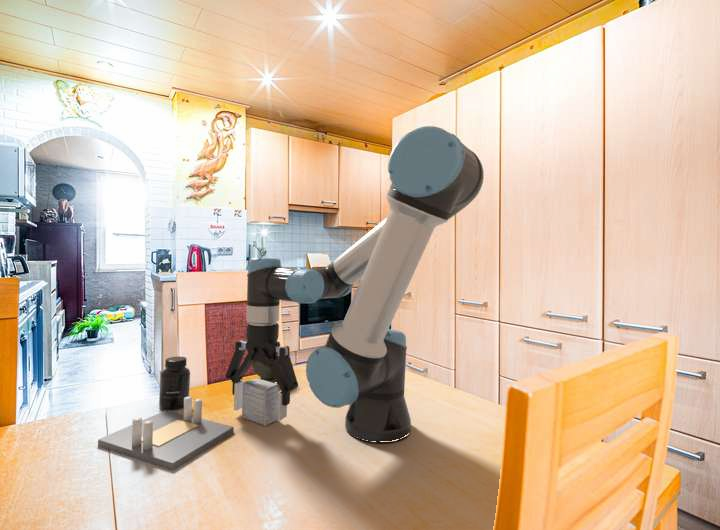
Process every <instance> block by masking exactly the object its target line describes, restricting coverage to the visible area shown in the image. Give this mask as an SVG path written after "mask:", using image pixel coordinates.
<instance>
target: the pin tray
mask: <svg viewBox="0 0 720 530" xmlns="http://www.w3.org/2000/svg"><path fill="white" fill-rule="evenodd" d="M192 401H194V402H192ZM192 404H193V408H192ZM192 409H193V415H192ZM202 411H203V398H197V399H194V400H193V397H192V396H189V397H185V398H184V407H183V413H180V412H176V411H173V410H164V411H161V412H159V413H156V414H154V415H152V416H150V417H148V418H145V419H143V418H142V417H135V418H133V419H132V420H131V421H132V423H131V425H129V426H126V427H124V428H122V429H121V428H120V429H119V430H117V431H115V432H112V433H110V434H108V435H106V436H103V437H101V438H99V439H98V440H97V446H98V447H101V448H104V449H106V450H107V449H108V450H110V451H113V452H117V453H119V454H122V455H126V456H129V457H132V458H135V459H139V460H141V461H144V462H147V463H150V464H154V465H156V466H160V467H161V468H162V467H163V468H165V469H169V470H172V471H173V470H174V469H177V468H178V467H179V466H181V465H182V464H185V462H186V463H187V461H189V460H191V459H192V458H194V457H195V456H197V455H199V454H200V453H202V452H204V451H205V450H207V449H208V448H209V449H210V447H212V446H213V445H215V444H216V443H218V442H220V441H221V440H223V439H224V438H226V437H228V436H229V435H230V436H231V434H233V433H234V430H235V429H234V426H232V425H228V424H224V423H220V422H216V421H212V420H209V419H205V418H202V416H203V414H202V413H203V412H202Z"/></svg>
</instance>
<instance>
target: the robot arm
mask: <svg viewBox="0 0 720 530" xmlns="http://www.w3.org/2000/svg"><path fill="white" fill-rule="evenodd" d="M387 172H388V173H389V180H390V182H391V185H390V187H389V189H388V191H387V194H386V199H387V202H388V204H389V212H388V214H387V216H386V217H385V218H384V219H383V220H382V221H380V222H379V223H378V224H377V225H376V226H374V228H372V229H371V230H369V231H368V232H367V233H366V234H365V235H363V236H362V237H361V238H360V239H359V240H358V241H356V242H355V243H353V245H352V246H350V247H349V248H348V249H346V250H345V251H344V252H343V253H341V254H340V255H339V256H337V258H335V259H334V260H333V261H332V262H331V263H329V264H328V265H327V266H326V267H284V266H282V261H281V259H279V258H275V257H274V258H273V257H252V258H250V259H249V261H248V265H247V266H248V267H247V274H246V277H247V285H246V288H247V289H246V316H245V317H246V319H245V320H246V322H247V323H246V326H245V339H243V340H238V341H235V345H234V347H235V348H234V352H233V354H232V358H231V360H230V362H229V365H228V368H227V371H226V373H225V379H227V380H228V379H229V380H230V381H231V382H232V390H231V391H232V396H233V398H234V399H233V411H236V412H237V411H239V410H241V409H242V394H243V383H244V382H246V381H245V380H243V379H244V376H245V375H246V373H247V372H248V370H249V369H250V367H251V366H252V363H253V362H261V363H266V365H267V366H268V367H269V368H270V370H271V372H272V373H273V375H274V377H275V379H276V381H277V384H278V385H279V389H280V391H279V390H278V415H277V420H276V421H282V420H283V419H285V418H286V417H287V415H288V414H287V412H288V405H289V404H290V403H291V392H292V391H294V390H295V389H297V388H298V387H299V382H298V380H297V376H296V374H295V373H296V372H295V369H294V367H293V362H292V360H291V355H290V347H289V346H288V345H285V346H279V347H278V344H277V342H278V339H279V328H280V325H279V323H278V322H279V321H280V305H281V304H280V301H284V302H285V301H286V302H292V303H296V304H314V303H316V302H317V301H318V300H323V299H339V298H342V297H345V296H347V295H349V294H350V293H351V292H352V290H353V288H354V284H356V283H357V282H358V281H359V280H360V281H359V284H358V285H357V288H356V290H355V293H354V295H353V298H352V300H351V302H350V305H349V308H348V310H347V313H346V314H345V317H344V319H343V322H339V323H336V324H334V325H333V326H332V328H331V330H330V333H329V335H328V337H327V340H326V342H325V344H324V345H323V346H320V347H317V348H316V349H315V350H313V351H312V352H311V353H310V355H309V356H308V358H307V361H306V365H305V375H306V380H307V382H308V383H309V388H310V390H311V392H312V393H313V395H314V396H315V397H316V399H318V400H319V401H320V403H322V404H323V405H325V406H327V407H330V408H335V409H336V408H337V409H338V408H339V409H340V408H343V407H345V406H348V409H347V411H346V414H345V419H344V420H345V423H344V424H345V425H344V427H346V428H345V430H346V429H347V430H346V432H347V431H348V432H349V433H350V434H352V435H353V436H355V437H358V438H360V439H364V440H368V441H376V442H380V441H392V440H396V439H400V438H402V437H404V436H405V435H407V434H408V433H409V431H410V429H411V428H412V420H411V417H410V411H409V409H408V406H407V402H406V397H405V387H406V386H405V385H406V383H405V382H406V364H407V363H406V362H407V359H406V358H407V349H408V347H407V338H406V335H405V333H404V332H402V331H400V330H397V329H390V326H391V324H392V322H393V320H394V318H395V315H396V314H397V311H398V309H399V307H400V304H401V303H402V301H403V298H404V296H405V294H406V291H407V290H408V287H409V286H410V283H411V280H412V278H413V276H414V274H415V273H416V272H415V271H416V269H417V267H418V265H419V263H420V261H421V259H422V256H423V255H424V252H425V250H426V248H427V245H428V243H429V241H430V240H431V237H432V234H433V233H434V230H435V228H437V227H438V226H440V225H444V223H447V222H448V220H450V219H451V218H452V217H454V216H455V215H457V214H458V213H460V212H461V211H462V210H463V209H465V208H466V207H467V206H469V205H470V204H471V203H472V202H473V201H474V200H475V199H476V197H477V196H478V194H479V193H480V191H481V188H482V187H483V183H484V168H483V164H482V162H481V160H480V158H479V157H478V155H477V154H476V153H475V152H474V151H472V150H471V149H470V148H468V146H466V145H465V144H464V143H463V142H461V140H460V138H458V137H457V135H455V134H453V133H451V132H449V131H447V130H445V129H444V128H440V127H438V126H434V125H429V126H428V125H427V126H421V127H418V128H415V129H413V130H412V131H410V132H408V133H406V134H404V135H403V136H402V137H401V138H400V139H399V140H398V141H397V142H396V144H395V145H394V147H393V148H392V151H391V152H390V154H389V159H388V163H387ZM246 340H247V341H246ZM246 351H247V354H246V355H245V352H246ZM277 352H278V356H279V358H280V363H281V365H280V364H279V359H278V357H277V355H276V353H277ZM244 355H245V356H244ZM272 359H273V361H271V360H272ZM242 360H243V362H242ZM281 366H282V367H281ZM348 432H347V433H348ZM410 432H411V431H410ZM349 433H348V434H349ZM350 434H349V435H350ZM352 435H351V436H352ZM353 436H352V437H353ZM355 437H354V438H355ZM360 439H359V440H360Z"/></svg>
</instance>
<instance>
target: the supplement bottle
mask: <svg viewBox="0 0 720 530" xmlns="http://www.w3.org/2000/svg"><path fill="white" fill-rule="evenodd" d="M186 366H187V357H185V356H169V357H167V358H166V359H165V364H164V367H165V369H163V370H162V371H161V373H160V379H159V396H158V398H159V400H158V402H159V403H158V406H159V408H161V410H164V411H165V410H168V411H177V410H180V409H184V398H185V397H190V388H191V387H190V385H191V380H190V379H191V370H190V369H189V368H188V367H186Z"/></svg>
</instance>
